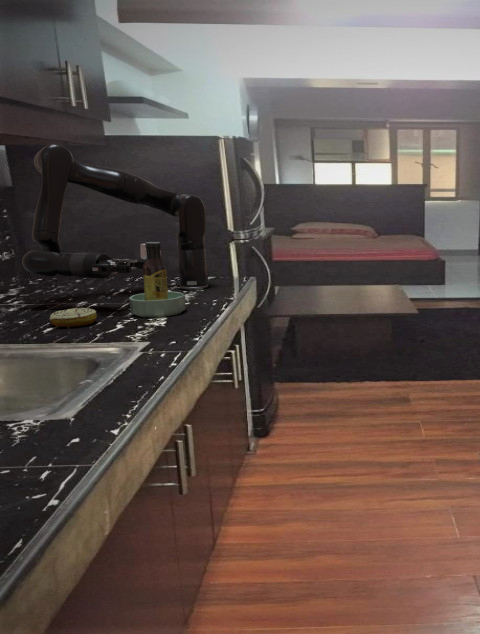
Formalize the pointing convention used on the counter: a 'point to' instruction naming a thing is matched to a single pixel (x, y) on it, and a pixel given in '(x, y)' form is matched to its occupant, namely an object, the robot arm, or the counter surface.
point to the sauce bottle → (154, 274)
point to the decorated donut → (73, 317)
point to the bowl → (158, 305)
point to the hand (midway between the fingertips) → (139, 267)
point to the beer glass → (143, 252)
